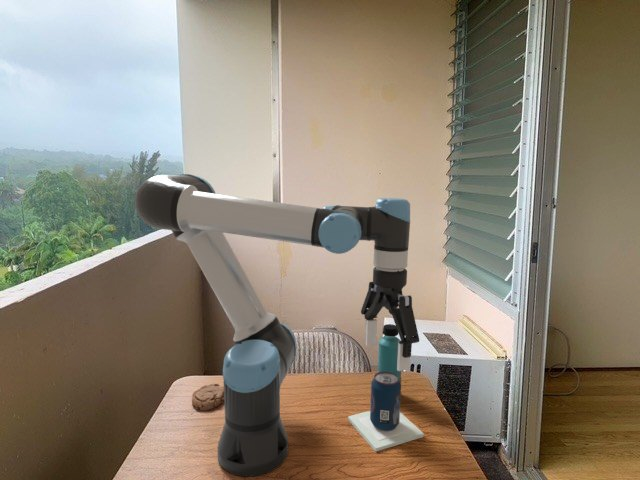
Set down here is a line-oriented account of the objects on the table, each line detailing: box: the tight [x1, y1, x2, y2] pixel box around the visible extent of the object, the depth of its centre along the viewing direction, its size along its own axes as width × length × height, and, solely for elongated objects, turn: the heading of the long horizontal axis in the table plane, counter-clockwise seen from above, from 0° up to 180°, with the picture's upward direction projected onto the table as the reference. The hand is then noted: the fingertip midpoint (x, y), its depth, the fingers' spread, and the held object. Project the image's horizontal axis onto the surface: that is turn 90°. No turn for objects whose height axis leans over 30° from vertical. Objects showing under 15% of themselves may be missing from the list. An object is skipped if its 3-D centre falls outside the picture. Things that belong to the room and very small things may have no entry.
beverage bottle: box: [376, 323, 403, 385], centre depth 112 cm, size 6×7×20 cm
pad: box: [347, 410, 425, 453], centre depth 99 cm, size 13×13×1 cm
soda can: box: [369, 372, 402, 431], centre depth 98 cm, size 7×7×12 cm
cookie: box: [191, 383, 224, 412], centre depth 110 cm, size 10×11×3 cm
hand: (385, 356), depth 96 cm, fingers open, 13 cm apart
